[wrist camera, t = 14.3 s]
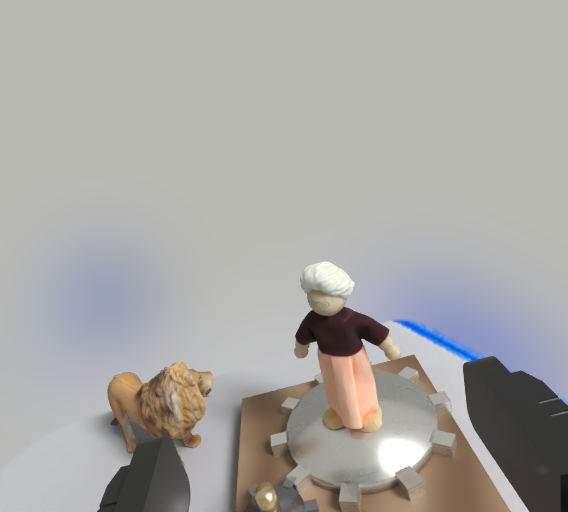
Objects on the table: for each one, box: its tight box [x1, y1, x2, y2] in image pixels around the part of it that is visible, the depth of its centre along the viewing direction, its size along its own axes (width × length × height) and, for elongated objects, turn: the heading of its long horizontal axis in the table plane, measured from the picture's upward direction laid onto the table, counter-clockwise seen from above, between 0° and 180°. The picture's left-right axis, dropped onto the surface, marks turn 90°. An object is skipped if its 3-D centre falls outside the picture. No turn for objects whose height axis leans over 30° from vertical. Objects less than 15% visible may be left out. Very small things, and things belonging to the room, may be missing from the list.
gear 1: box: [244, 477, 320, 512], centre depth 25 cm, size 6×5×3 cm
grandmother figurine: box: [294, 262, 401, 433], centre depth 29 cm, size 8×4×13 cm, turn 77°
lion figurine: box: [108, 363, 213, 467], centre depth 36 cm, size 15×5×9 cm, turn 62°
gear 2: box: [271, 362, 457, 512], centre depth 31 cm, size 13×13×1 cm
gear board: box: [235, 355, 511, 512], centre depth 30 cm, size 16×17×2 cm
